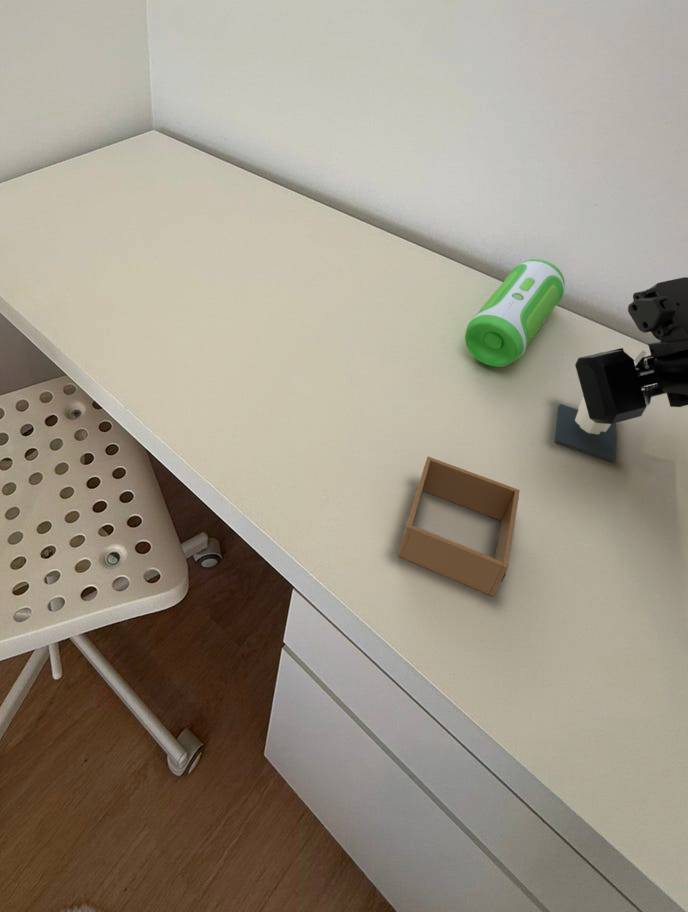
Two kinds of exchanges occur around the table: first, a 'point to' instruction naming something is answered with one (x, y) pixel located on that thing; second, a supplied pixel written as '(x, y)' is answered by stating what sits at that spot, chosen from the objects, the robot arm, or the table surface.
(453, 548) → the carton
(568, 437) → the mat
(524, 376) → the table surface
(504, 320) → the speaker
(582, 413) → the milkshake
